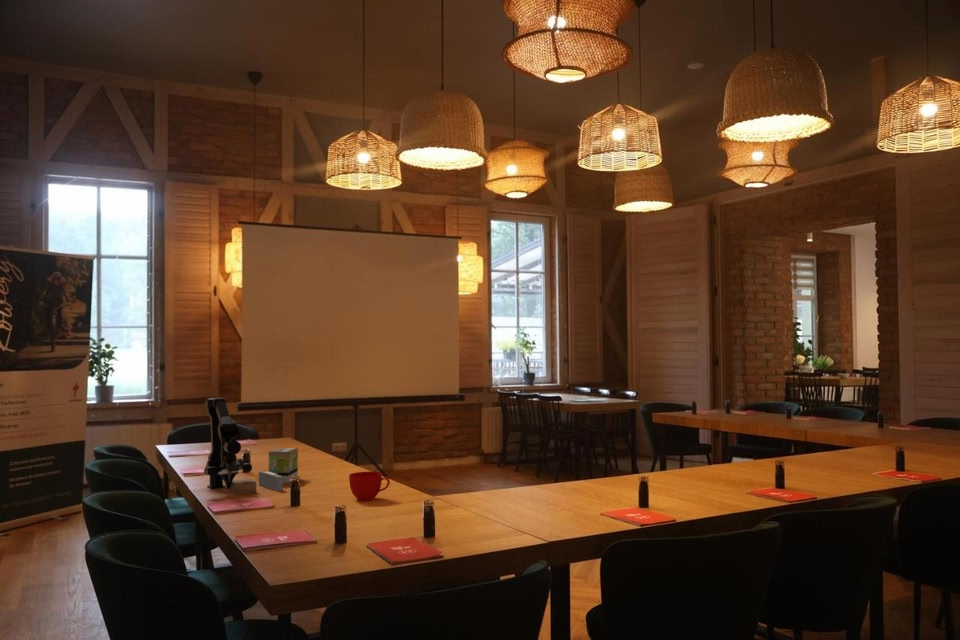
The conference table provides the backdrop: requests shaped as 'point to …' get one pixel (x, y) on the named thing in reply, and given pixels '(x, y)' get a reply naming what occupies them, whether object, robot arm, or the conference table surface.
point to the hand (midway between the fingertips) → (228, 489)
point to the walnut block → (243, 486)
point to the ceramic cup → (366, 485)
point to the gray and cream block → (271, 480)
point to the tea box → (284, 462)
